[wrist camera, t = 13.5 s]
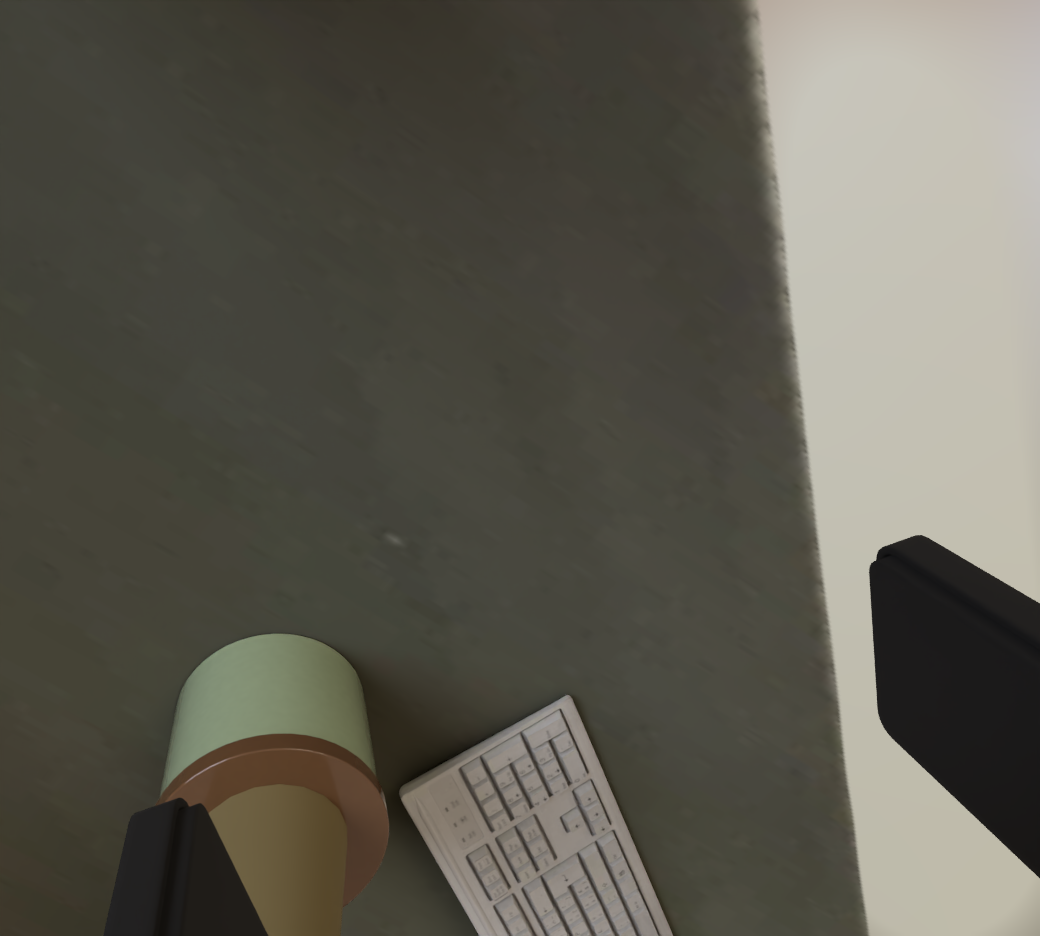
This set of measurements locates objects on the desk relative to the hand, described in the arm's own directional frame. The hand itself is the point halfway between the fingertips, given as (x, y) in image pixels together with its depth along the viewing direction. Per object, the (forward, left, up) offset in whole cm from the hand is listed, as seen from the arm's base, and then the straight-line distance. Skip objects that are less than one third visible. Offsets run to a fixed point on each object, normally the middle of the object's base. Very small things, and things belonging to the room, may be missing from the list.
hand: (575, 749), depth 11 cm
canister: (+11, -16, -28) cm, 34 cm away
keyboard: (+34, -14, -28) cm, 46 cm away
